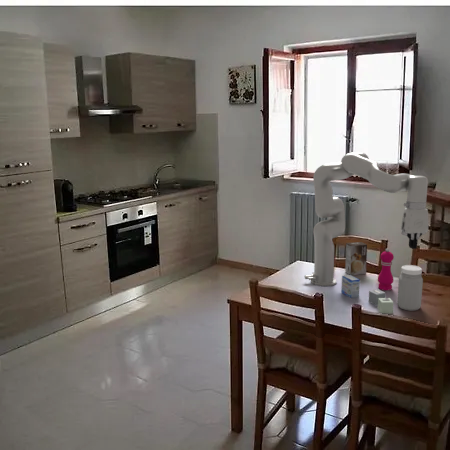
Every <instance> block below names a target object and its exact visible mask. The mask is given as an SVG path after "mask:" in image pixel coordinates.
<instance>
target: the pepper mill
mask: <svg viewBox="0 0 450 450" xmlns="http://www.w3.org/2000/svg"><path fill="white" fill-rule="evenodd" d="M394 257H395V256H394V254H393V253H392V252H391V251H390V248H385V251H382V253H381V254H380V257H379V258H380V260H381V264H380V265H381V271H380V273H379V274H378V277H377V282H378V286H377V287H378V290H381V291H391V290H392V289H393V285H392V284H393V283H394V277H393V274H392V271H391V270H392V269H391V267H392V265H393V260H394V259H395V258H394Z"/></svg>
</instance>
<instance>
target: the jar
mask: <svg viewBox="0 0 450 450" xmlns="http://www.w3.org/2000/svg"><path fill="white" fill-rule="evenodd" d="M422 271H423V268H421V267H420V266H418V265H415V264H413V265H412V264H405V265H402V266H401V267H400V275H399V277H398V287H397V302H396V304H397V306H398V307H399V308H400V309H402V310H405V311H409V312H410V311H411V312H412V311H418V310H419V309H420V308H421V307H422V306H421V305H422V297H423V296H422V294H423V283H424V279H423V277H422V273H423V272H422Z"/></svg>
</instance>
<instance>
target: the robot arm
mask: <svg viewBox="0 0 450 450" xmlns="http://www.w3.org/2000/svg"><path fill="white" fill-rule="evenodd" d="M354 175H355V176H359V177H360V178H362V179H365V180H367V181H368V182H369V184H371V185H373V187H375V188H377V189H378V190H382V191H384V192H386V193H390V194H397V193H401V192H406V193H407V195H406V196H407V197H406V202H405V203H404V204H403V206H404V207H405V208H404V211H403V215H402V220H401V226H400V227H401V228H400V229H401V235H402V236H405V237H407V238H408V248H410V249H412V250H414V249H415V250H416V249H417V247H418V240H419V239H420V238H421V237H422V236H423V235H426V234H427V232H429V212H428V211H429V209H428V208H427V196H428V184H429V183H428V182H429V179H428V177H426V176H424V175H413V174H410V173H405V172H404V173H398V174H390V173H388V172H385V171H384V170H380V166H379V163H378V162H377V161H375V160H373V159H370V158H369V156H368V155H367V154H366V153H365V152H362V151H361V152H360V151H356V152H350V153H349V152H348V153H346V154H344V155H343V156H342V158H341V161H338V162H337V161H336V162H330V163H324V164H322V165H320V166H318V167H317V168H316V169H315V170H314V173H313V177H312V178H313V186H314V200H315V201H314V202H315V203H314V205H315V206H314V208H315V214H316V216H317V217H318V218H320V219H325V220H321V221H319V222H317V223H316V224H315V225H314V227H313V229H312V231H313V232H312V233H313V239H314V240H313V241H314V267H313V269H314V272H312V273H311V274H308V275H307V274H306V275H304V279H305V280H308V281H310V282H311V284H312V285H315V286H319V287H332V286H335V285H336V284H337V279H336V278H334V272H335V271H334V270H335V269H334V268H335V266H334V265H335V245H334V242H333V239H334V238H338V237H341V236H342V235H343V234H344V232H345V230H346V215H345V214H346V213H345V212H346V211H345V204H344V202H343V200H342V199H341V198H340V197H338V196H333V195H334V194H333V187H332V184H331V182H335V181H340V180H345V179H348V178H349V177H352V176H354Z"/></svg>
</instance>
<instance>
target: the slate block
mask: <svg viewBox="0 0 450 450" xmlns="http://www.w3.org/2000/svg"><path fill="white" fill-rule="evenodd" d="M386 297H387V295H386V292H384V290H381V289H379V288H378V289H373V290H369V291H368V302H369V303H371V304H373V305H375V306H378V298H386Z"/></svg>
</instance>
